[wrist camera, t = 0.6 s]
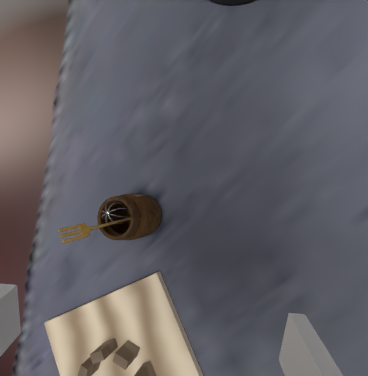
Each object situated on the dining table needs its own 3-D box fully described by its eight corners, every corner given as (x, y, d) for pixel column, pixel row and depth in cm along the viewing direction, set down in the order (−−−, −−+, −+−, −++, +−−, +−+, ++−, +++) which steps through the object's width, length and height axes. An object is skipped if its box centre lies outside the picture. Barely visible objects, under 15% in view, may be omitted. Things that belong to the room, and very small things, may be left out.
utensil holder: (170, 224, 33) (119, 236, 21) (134, 243, 34) (70, 264, 23) (152, 186, 34) (95, 179, 23) (118, 207, 36) (49, 210, 24)
